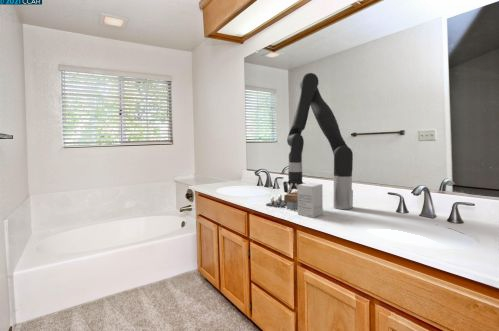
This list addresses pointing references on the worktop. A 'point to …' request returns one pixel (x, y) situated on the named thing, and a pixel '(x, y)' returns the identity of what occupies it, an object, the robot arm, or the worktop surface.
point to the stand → (292, 205)
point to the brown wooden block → (291, 197)
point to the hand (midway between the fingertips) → (295, 200)
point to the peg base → (277, 202)
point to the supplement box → (310, 199)
